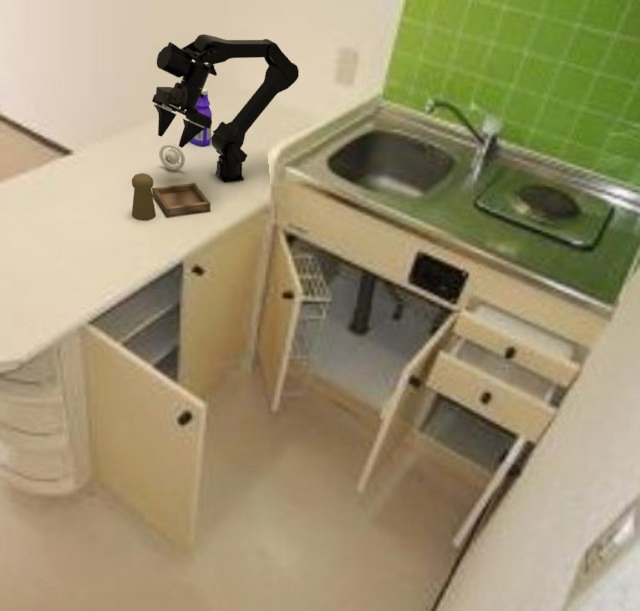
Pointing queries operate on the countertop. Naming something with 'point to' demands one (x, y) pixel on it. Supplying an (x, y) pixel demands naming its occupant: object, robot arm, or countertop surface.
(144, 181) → the cork
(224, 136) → the robot arm
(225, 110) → the countertop surface
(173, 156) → the ring around a ball
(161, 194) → the walnut tray
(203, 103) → the bottle
